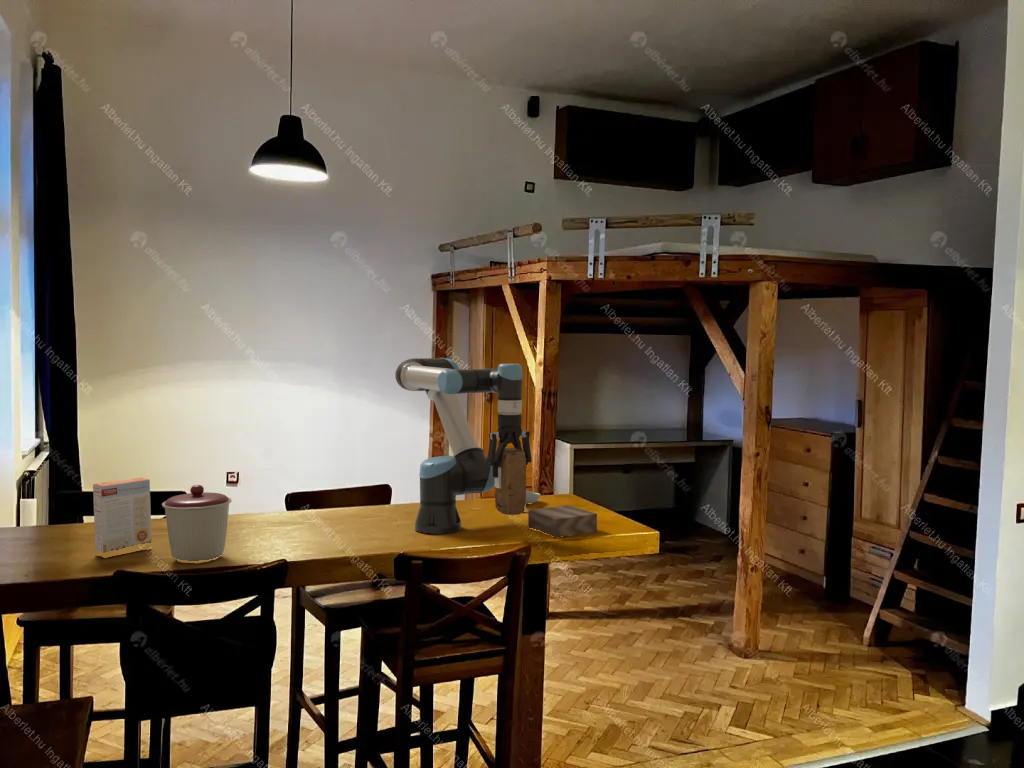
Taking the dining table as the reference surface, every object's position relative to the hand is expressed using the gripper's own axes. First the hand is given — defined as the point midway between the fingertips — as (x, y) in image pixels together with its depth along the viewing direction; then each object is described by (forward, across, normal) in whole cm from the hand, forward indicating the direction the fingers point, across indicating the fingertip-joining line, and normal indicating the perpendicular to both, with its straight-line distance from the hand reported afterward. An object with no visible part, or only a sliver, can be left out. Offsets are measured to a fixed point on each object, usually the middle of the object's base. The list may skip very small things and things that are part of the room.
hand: (509, 486), depth 252 cm
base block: (+16, +20, 0) cm, 26 cm away
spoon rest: (+17, +30, +39) cm, 52 cm away
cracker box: (+17, -105, +42) cm, 114 cm away
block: (+8, 0, 0) cm, 8 cm away
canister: (+17, -88, +22) cm, 92 cm away
